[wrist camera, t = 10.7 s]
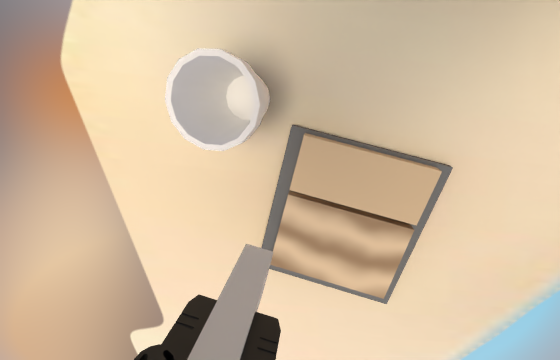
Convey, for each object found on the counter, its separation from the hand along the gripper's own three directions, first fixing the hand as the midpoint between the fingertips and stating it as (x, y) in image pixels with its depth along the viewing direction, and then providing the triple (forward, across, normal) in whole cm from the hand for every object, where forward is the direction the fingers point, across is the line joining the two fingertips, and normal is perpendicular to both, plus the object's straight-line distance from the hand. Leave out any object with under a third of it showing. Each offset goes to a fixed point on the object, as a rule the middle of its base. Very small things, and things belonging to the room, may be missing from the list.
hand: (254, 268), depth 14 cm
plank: (+25, +9, -11) cm, 29 cm away
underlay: (+26, +9, -8) cm, 29 cm away
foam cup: (+27, -9, +6) cm, 29 cm away
